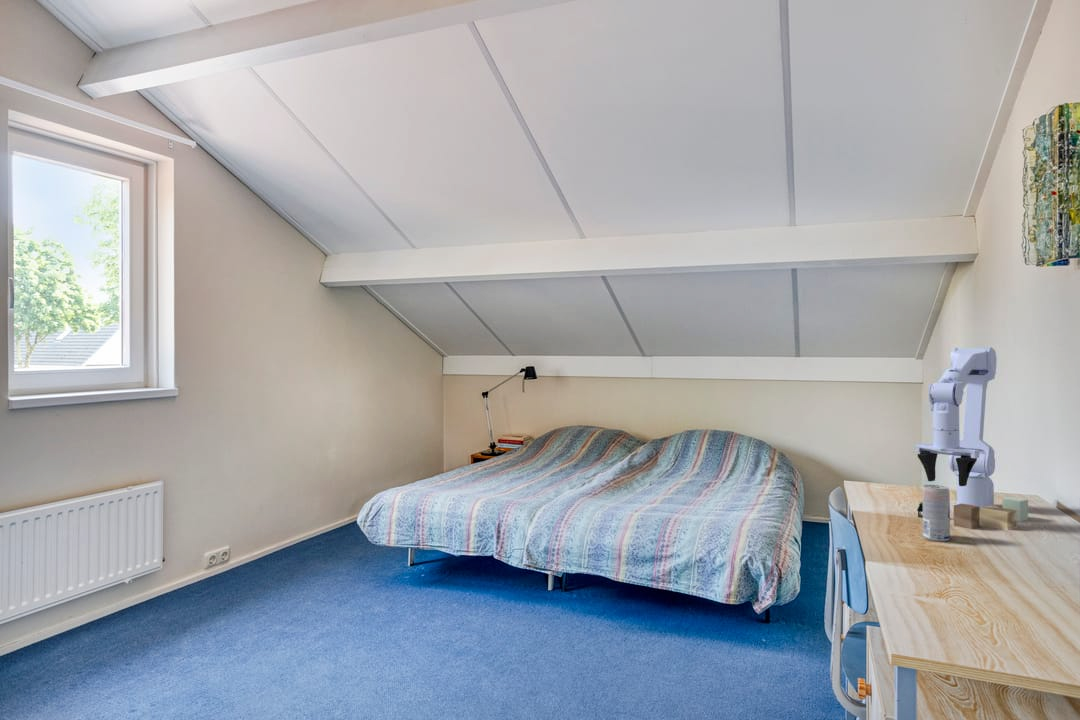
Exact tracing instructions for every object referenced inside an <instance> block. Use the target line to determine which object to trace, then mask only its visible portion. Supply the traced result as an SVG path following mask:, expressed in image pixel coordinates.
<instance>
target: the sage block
mask: <svg viewBox="0 0 1080 720" xmlns="http://www.w3.org/2000/svg"><path fill="white" fill-rule="evenodd" d="M1001 500H1002V505H1001V506H1002V508H1005V509H1011V510H1016V518H1017V522H1024V521H1027V520H1029V500H1028V498H1020V497H1019V498H1018V497H1012V496H1008V497H1004V498H1002V499H1001Z"/></svg>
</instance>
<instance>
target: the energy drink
mask: <svg viewBox="0 0 1080 720" xmlns="http://www.w3.org/2000/svg"><path fill="white" fill-rule="evenodd" d="M950 495H951V494H950V490H949V487H948V486H945V485H939V484H924V485H923V488H922V502H923V512H922V515H923V518H922V537H923V538H924V539H925V540H927V541H932V542H938V543H939V542H940V543H947V542H949V541H950V540H951V521H950V520H951V514H950V513H951V512H950V511H951V509H950V507H951V506H950V505H951V503H950V502H951V501H950V500H951V499H950V498H951V497H950ZM946 541H947V542H946Z"/></svg>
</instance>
